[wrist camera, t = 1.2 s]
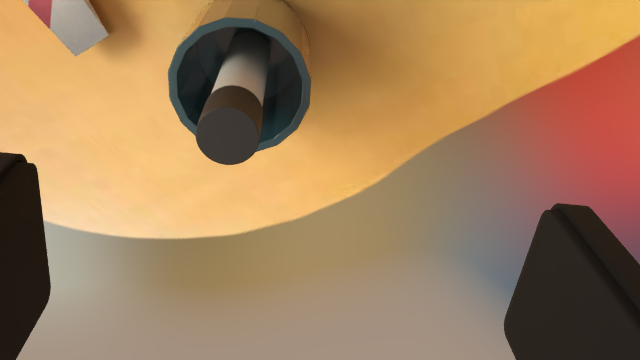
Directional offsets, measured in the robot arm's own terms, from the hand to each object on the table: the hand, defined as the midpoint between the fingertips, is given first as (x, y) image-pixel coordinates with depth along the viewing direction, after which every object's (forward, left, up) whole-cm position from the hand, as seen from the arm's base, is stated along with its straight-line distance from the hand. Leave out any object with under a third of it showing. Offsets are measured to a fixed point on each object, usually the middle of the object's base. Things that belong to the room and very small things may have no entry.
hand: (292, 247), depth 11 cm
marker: (+6, +2, -30) cm, 31 cm away
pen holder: (+6, +2, -31) cm, 31 cm away
